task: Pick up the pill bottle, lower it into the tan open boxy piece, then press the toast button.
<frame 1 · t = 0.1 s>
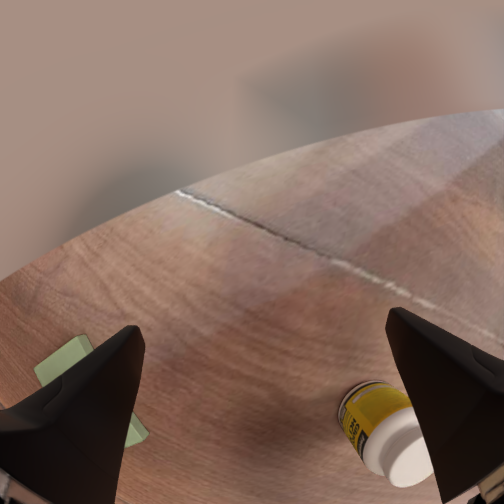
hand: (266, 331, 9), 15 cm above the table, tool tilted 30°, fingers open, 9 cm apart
pill bottle: (366, 407, 22), on the table
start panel: (89, 400, 23), on the table
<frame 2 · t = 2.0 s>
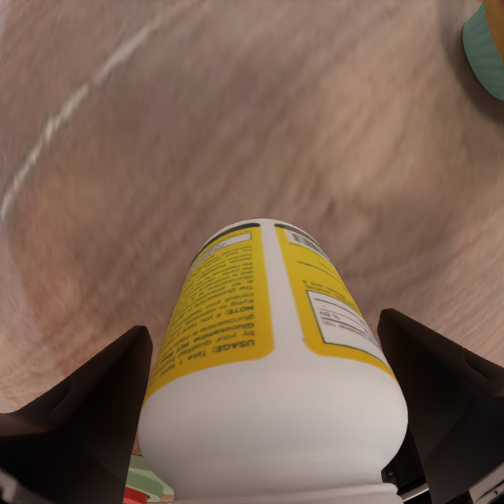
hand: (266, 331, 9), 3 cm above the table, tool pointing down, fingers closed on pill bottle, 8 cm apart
pill bottle: (260, 281, 12), on the table, touching gripper
toast button: (129, 495, 18), point 4 cm above the table, slide at 0.1 cm
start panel: (135, 467, 22), on the table
cupcake: (486, 56, 8), on the table
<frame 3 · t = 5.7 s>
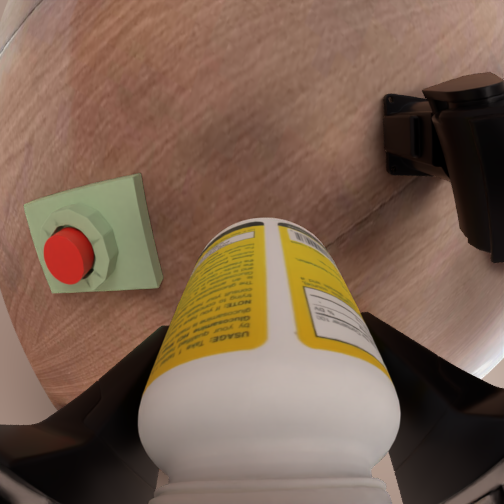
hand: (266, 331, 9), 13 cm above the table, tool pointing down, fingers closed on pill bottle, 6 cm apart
pill bottle: (265, 278, 13), point 9 cm above the table, touching gripper
toast button: (68, 255, 18), point 4 cm above the table, slide at 0.1 cm
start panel: (91, 236, 21), on the table
when the fingers open (4 cm above the table, at t = 9.3 s): pill bottle stays where it is, resting on tan open boxy piece.
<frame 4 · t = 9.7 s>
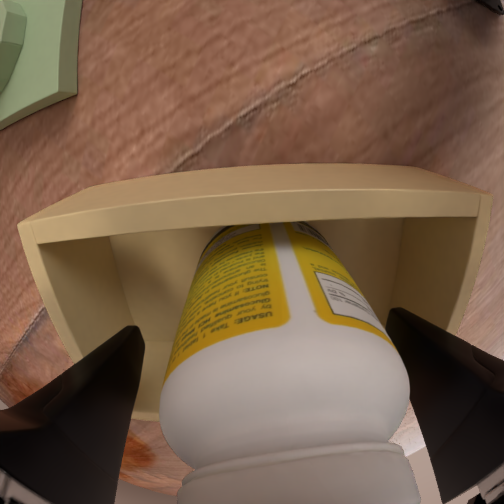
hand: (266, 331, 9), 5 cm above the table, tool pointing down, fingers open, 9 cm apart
pill bottle: (266, 270, 13), resting on tan open boxy piece
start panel: (4, 61, 8), on the table
tan open boxy piece: (260, 267, 13), on the table
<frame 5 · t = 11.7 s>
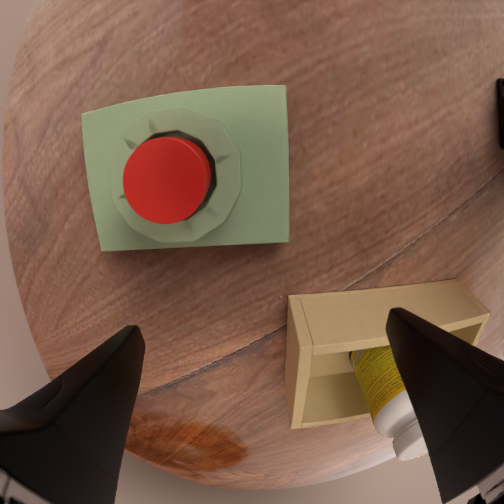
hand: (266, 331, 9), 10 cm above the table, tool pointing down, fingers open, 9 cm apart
pill bottle: (378, 336, 22), resting on tan open boxy piece
toast button: (167, 178, 13), point 4 cm above the table, slide at 0.1 cm
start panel: (185, 168, 16), on the table
tan open boxy piece: (374, 334, 22), on the table
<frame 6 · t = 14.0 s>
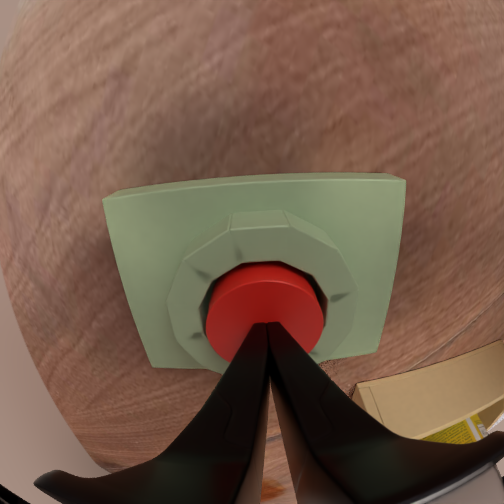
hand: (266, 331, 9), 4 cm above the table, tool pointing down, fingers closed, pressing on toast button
pill bottle: (427, 399, 18), resting on tan open boxy piece
toast button: (263, 316, 10), point 3 cm above the table, slide at -0.6 cm, touching gripper
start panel: (259, 273, 13), on the table
tan open boxy piece: (424, 397, 19), on the table
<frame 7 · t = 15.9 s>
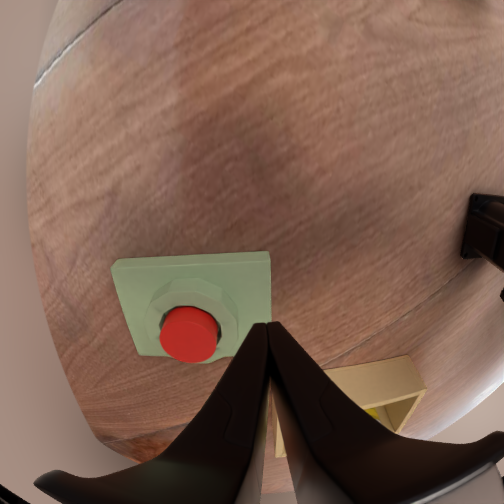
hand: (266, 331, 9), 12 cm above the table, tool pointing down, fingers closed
toast button: (189, 335, 19), point 4 cm above the table, slide at 0.1 cm
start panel: (196, 304, 23), on the table
tan open boxy piece: (338, 393, 28), on the table
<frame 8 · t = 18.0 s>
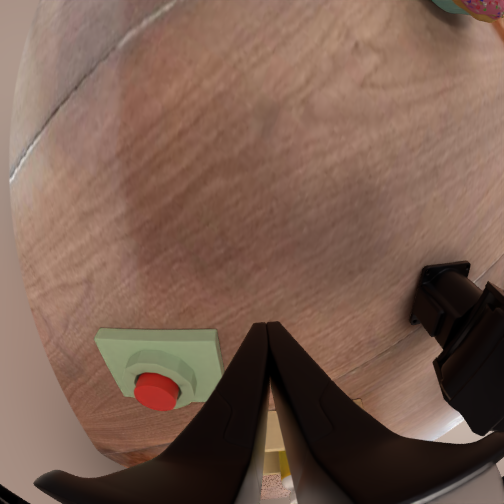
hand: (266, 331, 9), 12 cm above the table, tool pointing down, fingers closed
pill bottle: (299, 428, 31), resting on tan open boxy piece
toast button: (156, 392, 22), point 4 cm above the table, slide at 0.1 cm
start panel: (164, 362, 26), on the table
tan open boxy piece: (297, 426, 31), on the table
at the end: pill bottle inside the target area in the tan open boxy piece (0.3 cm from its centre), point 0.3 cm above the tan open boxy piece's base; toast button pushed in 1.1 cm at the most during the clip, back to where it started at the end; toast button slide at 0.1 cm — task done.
